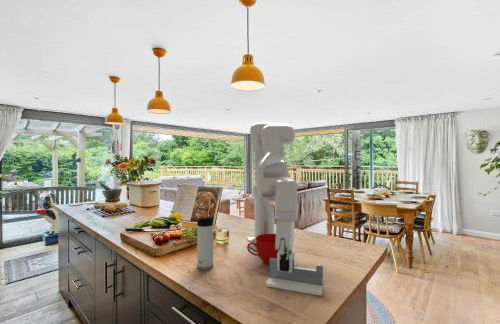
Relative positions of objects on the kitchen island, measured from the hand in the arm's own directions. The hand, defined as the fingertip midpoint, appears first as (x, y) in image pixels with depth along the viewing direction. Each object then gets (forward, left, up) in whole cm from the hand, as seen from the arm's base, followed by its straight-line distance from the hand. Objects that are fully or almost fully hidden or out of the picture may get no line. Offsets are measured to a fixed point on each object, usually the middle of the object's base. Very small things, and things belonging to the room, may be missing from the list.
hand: (285, 266), depth 88 cm
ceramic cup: (-11, +14, -6) cm, 18 cm away
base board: (+3, 0, -5) cm, 6 cm away
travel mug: (-33, +2, -6) cm, 33 cm away
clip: (0, 0, -1) cm, 1 cm away
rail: (+3, 0, -5) cm, 6 cm away
